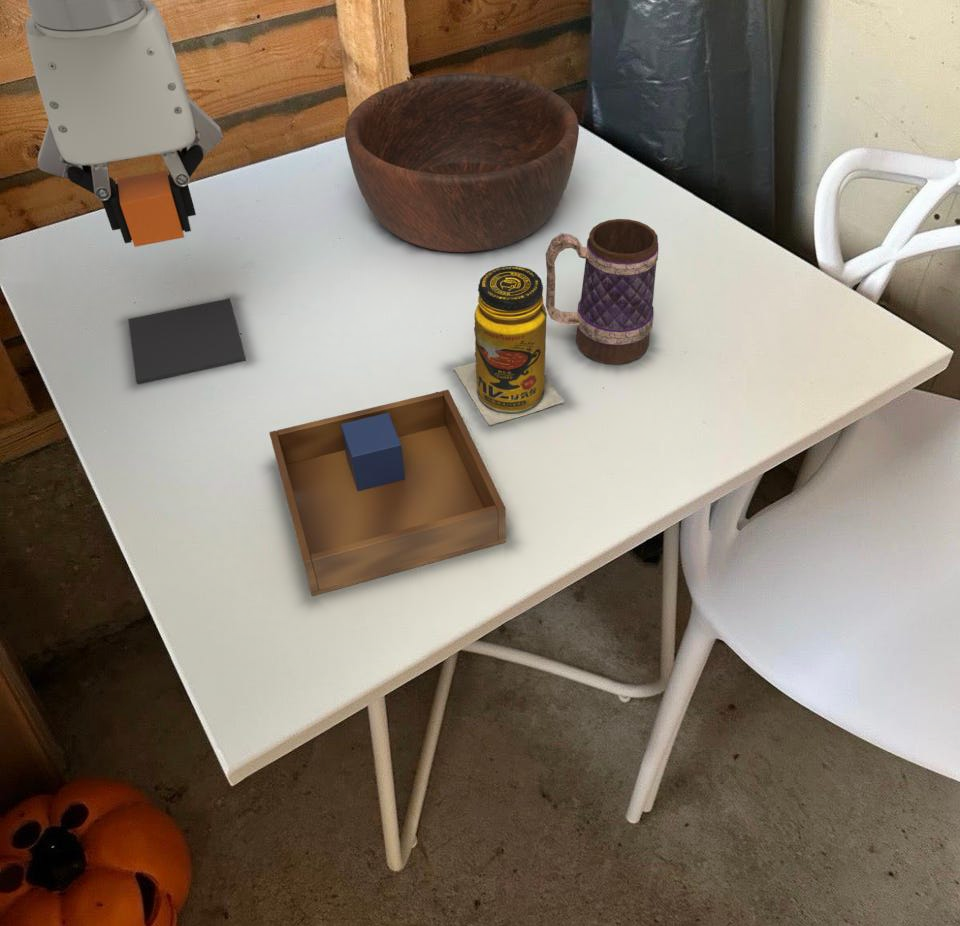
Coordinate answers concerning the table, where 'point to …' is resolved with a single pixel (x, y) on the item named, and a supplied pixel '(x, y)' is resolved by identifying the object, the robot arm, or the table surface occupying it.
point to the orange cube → (149, 208)
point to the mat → (184, 340)
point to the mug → (610, 289)
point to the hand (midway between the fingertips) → (156, 226)
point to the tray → (388, 495)
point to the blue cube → (373, 451)
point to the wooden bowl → (462, 158)
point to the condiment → (509, 347)
